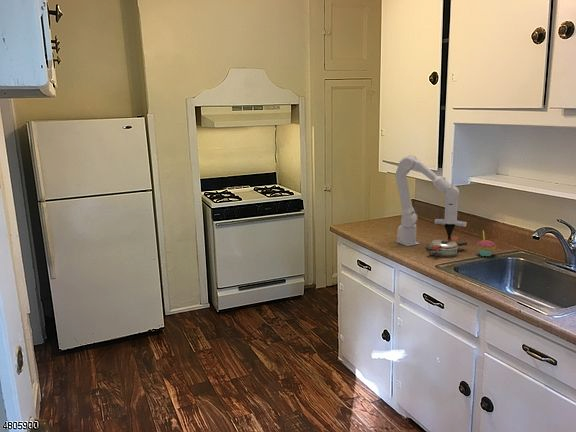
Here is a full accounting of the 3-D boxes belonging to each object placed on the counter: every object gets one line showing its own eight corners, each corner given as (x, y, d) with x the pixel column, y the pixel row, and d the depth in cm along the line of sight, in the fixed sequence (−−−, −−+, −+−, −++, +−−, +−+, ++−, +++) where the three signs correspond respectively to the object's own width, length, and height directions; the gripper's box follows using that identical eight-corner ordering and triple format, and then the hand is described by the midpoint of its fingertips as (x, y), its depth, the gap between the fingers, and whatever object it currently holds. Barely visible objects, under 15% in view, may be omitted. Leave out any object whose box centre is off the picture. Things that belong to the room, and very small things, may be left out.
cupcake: (472, 255, 225) (474, 230, 222) (480, 251, 231) (482, 226, 228) (490, 259, 219) (492, 233, 216) (498, 254, 225) (500, 229, 222)
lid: (446, 251, 217) (447, 248, 217) (423, 247, 224) (423, 243, 224) (466, 240, 233) (467, 237, 233) (444, 236, 241) (444, 233, 240)
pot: (418, 252, 230) (418, 244, 230) (455, 246, 239) (455, 238, 239) (436, 260, 219) (437, 251, 218) (474, 253, 228) (475, 244, 227)
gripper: (433, 212, 233) (432, 239, 236) (465, 215, 226) (463, 243, 229) (437, 209, 239) (435, 235, 242) (468, 212, 232) (466, 239, 235)
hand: (449, 239), depth 236 cm, fingers closed, pressing on lid
